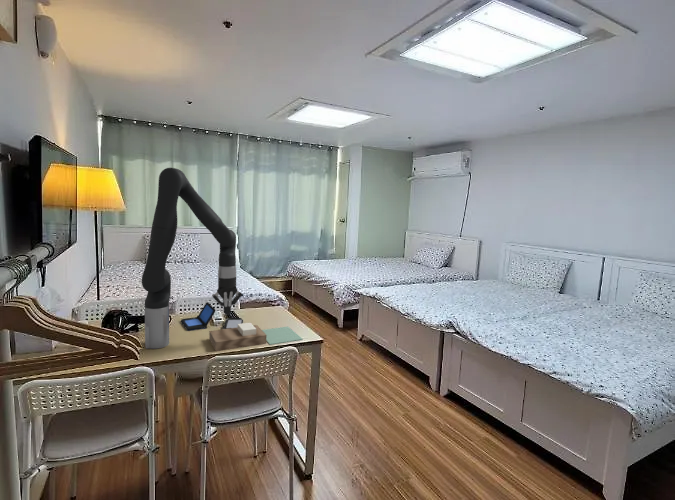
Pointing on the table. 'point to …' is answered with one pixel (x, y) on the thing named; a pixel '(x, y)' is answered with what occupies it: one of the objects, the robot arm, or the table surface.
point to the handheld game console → (199, 319)
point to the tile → (246, 329)
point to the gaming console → (232, 323)
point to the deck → (235, 338)
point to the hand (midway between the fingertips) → (227, 314)
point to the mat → (281, 335)
